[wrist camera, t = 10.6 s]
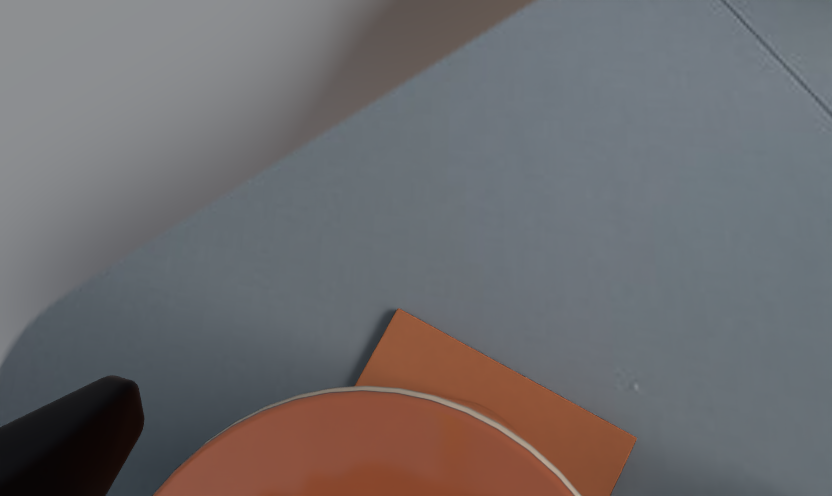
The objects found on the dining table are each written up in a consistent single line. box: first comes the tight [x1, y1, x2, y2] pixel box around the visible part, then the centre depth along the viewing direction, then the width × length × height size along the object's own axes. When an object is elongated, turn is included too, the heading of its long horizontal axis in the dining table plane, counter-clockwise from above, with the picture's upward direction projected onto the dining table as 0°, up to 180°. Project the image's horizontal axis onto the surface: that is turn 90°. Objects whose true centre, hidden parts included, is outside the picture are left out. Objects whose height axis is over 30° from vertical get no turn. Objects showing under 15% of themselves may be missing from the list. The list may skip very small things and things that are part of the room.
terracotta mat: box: [355, 308, 637, 496], centre depth 19 cm, size 8×8×1 cm
